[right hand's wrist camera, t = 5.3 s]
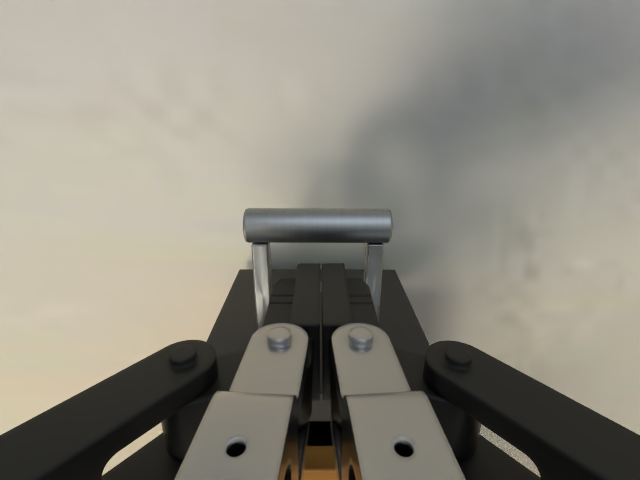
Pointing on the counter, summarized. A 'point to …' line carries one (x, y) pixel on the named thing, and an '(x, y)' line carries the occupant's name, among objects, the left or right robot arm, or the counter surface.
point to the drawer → (320, 227)
